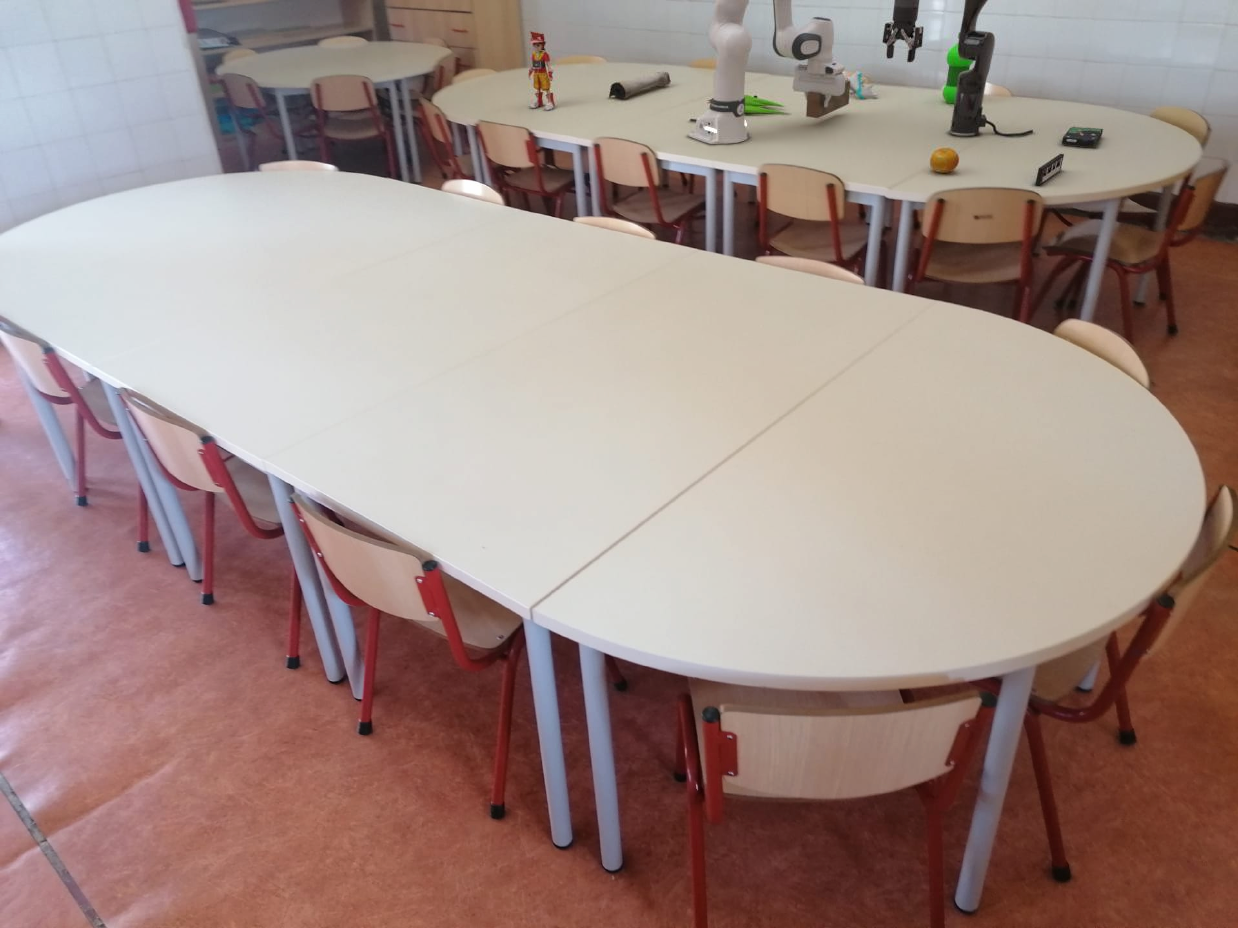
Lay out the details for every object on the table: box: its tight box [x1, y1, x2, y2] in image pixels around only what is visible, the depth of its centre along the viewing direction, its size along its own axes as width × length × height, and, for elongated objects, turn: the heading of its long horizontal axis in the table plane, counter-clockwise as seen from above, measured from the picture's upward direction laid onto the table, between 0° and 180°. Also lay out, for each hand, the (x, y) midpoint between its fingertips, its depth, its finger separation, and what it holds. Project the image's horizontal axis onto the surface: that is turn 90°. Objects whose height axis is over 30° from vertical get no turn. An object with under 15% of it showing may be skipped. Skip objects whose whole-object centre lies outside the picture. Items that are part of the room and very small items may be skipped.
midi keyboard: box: [1035, 153, 1065, 186], centre depth 273 cm, size 18×1×5 cm, turn 138°
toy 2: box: [744, 94, 786, 114], centre depth 359 cm, size 28×5×30 cm
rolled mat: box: [608, 71, 672, 101], centre depth 395 cm, size 30×9×10 cm
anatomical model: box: [846, 70, 878, 100], centre depth 369 cm, size 15×10×10 cm
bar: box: [805, 79, 851, 119], centre depth 337 cm, size 22×5×8 cm, turn 139°
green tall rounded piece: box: [942, 31, 974, 104], centre depth 348 cm, size 10×10×25 cm
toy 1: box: [527, 31, 556, 111], centre depth 374 cm, size 12×9×30 cm
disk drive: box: [1061, 126, 1104, 148], centre depth 303 cm, size 10×3×15 cm
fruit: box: [929, 147, 960, 174], centre depth 283 cm, size 8×8×8 cm
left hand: (817, 106), depth 333 cm, fingers closed on bar, 5 cm apart
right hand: (899, 60), depth 290 cm, fingers open, 8 cm apart
